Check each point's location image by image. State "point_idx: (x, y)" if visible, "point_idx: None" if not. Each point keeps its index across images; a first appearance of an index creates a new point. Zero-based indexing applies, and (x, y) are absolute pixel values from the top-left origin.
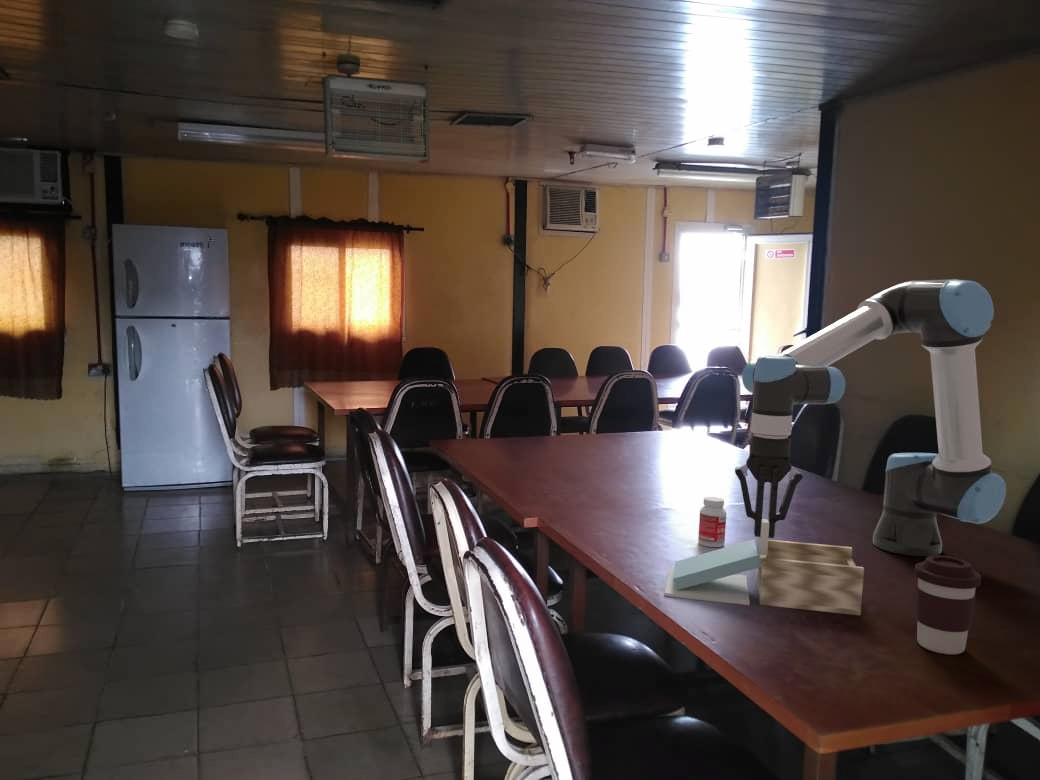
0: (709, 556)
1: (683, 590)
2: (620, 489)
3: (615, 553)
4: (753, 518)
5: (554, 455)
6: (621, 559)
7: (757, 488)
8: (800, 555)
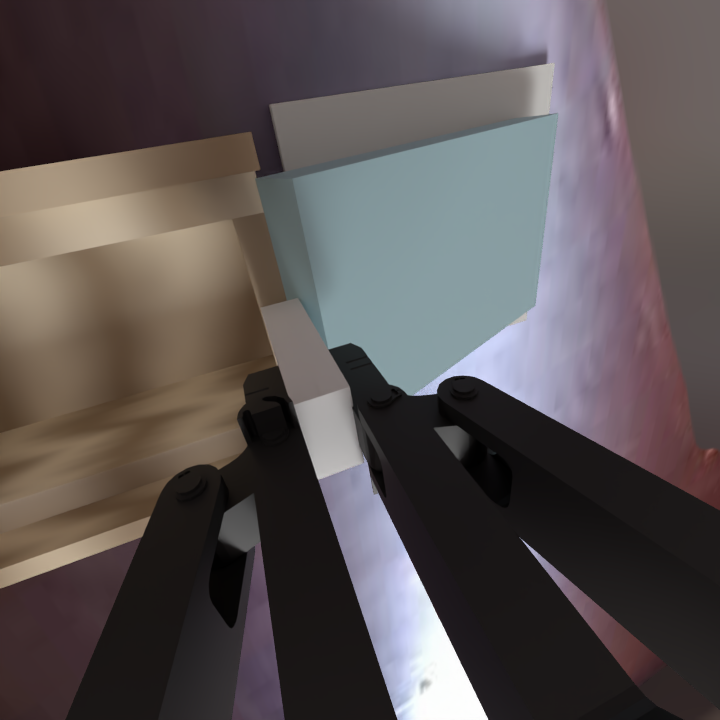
0: (472, 302)
1: None
2: None
3: (618, 361)
4: (416, 398)
5: (625, 665)
6: (612, 330)
7: (621, 685)
8: (140, 460)
